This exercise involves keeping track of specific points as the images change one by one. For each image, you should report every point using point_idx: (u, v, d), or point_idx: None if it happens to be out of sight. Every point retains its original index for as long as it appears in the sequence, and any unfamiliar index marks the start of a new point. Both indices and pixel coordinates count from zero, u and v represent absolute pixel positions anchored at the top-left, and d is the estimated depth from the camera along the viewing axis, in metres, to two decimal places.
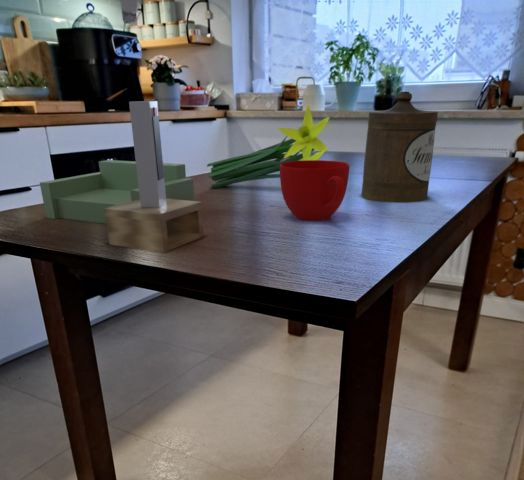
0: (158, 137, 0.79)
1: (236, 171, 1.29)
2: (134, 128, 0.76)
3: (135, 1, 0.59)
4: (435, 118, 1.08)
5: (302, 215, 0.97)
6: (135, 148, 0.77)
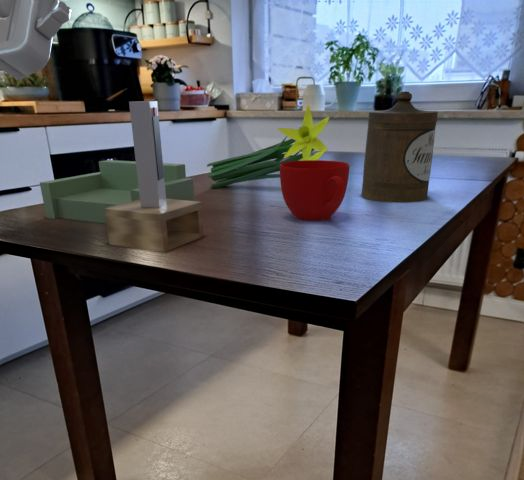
0: (158, 137, 0.79)
1: (236, 171, 1.29)
2: (134, 128, 0.76)
3: (56, 13, 0.68)
4: (435, 118, 1.08)
5: (302, 215, 0.97)
6: (135, 148, 0.77)
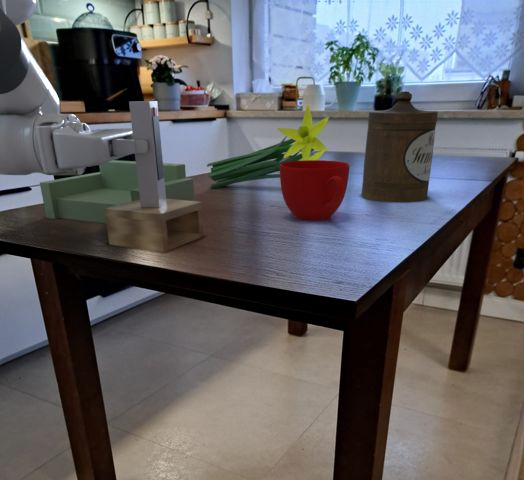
0: (158, 137, 0.79)
1: (236, 171, 1.29)
2: (134, 128, 0.76)
3: (139, 141, 0.75)
4: (435, 118, 1.08)
5: (302, 215, 0.97)
6: None
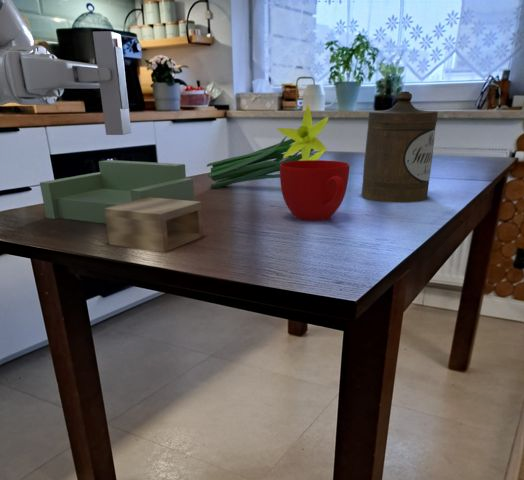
0: (121, 68, 0.85)
1: (235, 171, 1.29)
2: (98, 57, 0.83)
3: (102, 69, 0.82)
4: (435, 118, 1.08)
5: (302, 215, 0.97)
6: None
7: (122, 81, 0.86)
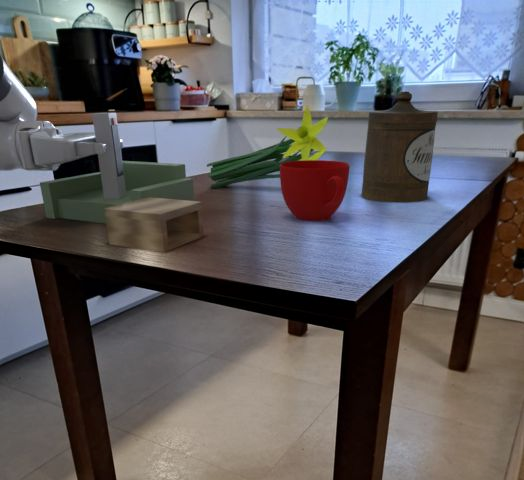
0: (117, 142, 0.97)
1: (235, 171, 1.29)
2: (97, 135, 0.94)
3: (97, 144, 0.92)
4: (435, 118, 1.08)
5: (302, 215, 0.97)
6: None
7: (118, 153, 0.98)
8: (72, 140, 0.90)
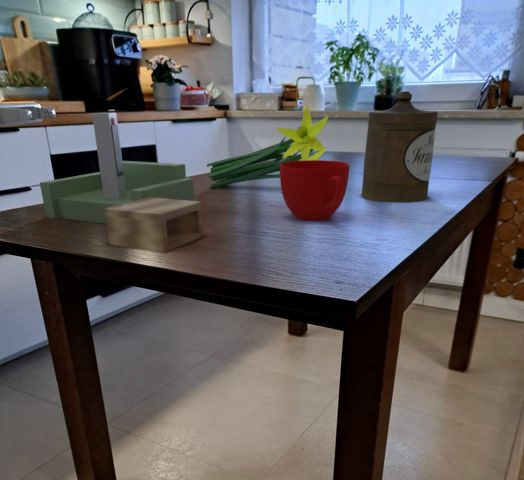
0: (117, 142, 0.97)
1: (235, 171, 1.29)
2: (97, 135, 0.94)
3: (21, 110, 0.89)
4: (435, 118, 1.08)
5: (302, 215, 0.97)
6: (98, 150, 0.96)
7: (118, 153, 0.98)
8: None
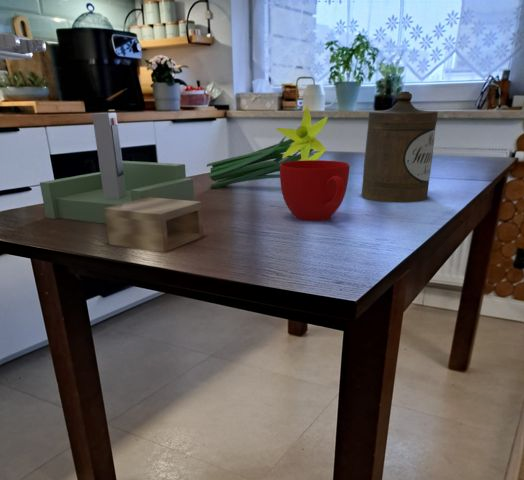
0: (117, 142, 0.97)
1: (235, 171, 1.29)
2: (97, 135, 0.94)
3: (8, 35, 0.83)
4: (435, 118, 1.08)
5: (302, 215, 0.97)
6: (98, 150, 0.96)
7: (118, 153, 0.98)
8: None
